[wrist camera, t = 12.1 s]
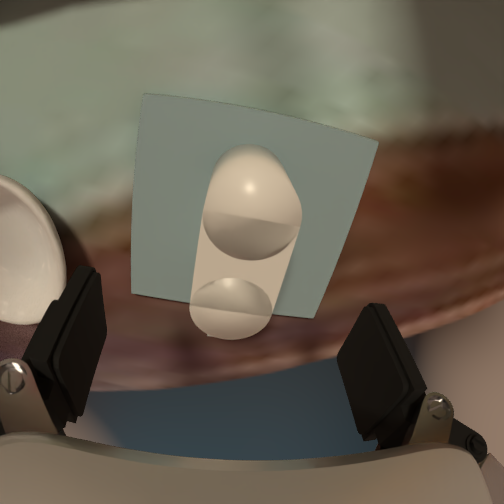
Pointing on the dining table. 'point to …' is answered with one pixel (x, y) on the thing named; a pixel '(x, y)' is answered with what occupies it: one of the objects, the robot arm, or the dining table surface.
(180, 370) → the dining table surface
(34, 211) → the spoon rest
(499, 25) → the dining table surface
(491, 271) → the dining table surface
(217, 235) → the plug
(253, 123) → the pad
